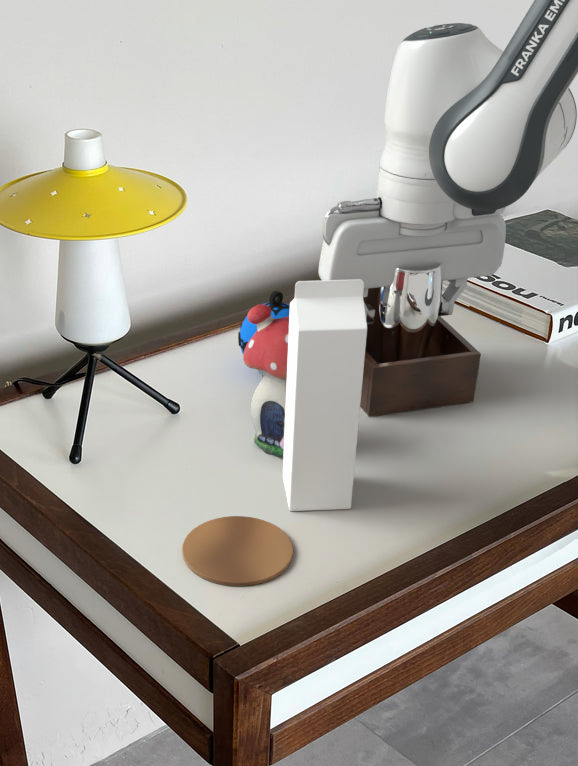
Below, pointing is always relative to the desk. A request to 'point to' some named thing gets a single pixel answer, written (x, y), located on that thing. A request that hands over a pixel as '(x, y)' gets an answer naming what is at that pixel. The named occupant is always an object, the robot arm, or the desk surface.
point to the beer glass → (408, 313)
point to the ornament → (277, 312)
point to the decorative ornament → (268, 377)
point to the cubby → (418, 372)
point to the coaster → (237, 551)
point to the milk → (323, 393)
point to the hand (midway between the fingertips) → (403, 318)
